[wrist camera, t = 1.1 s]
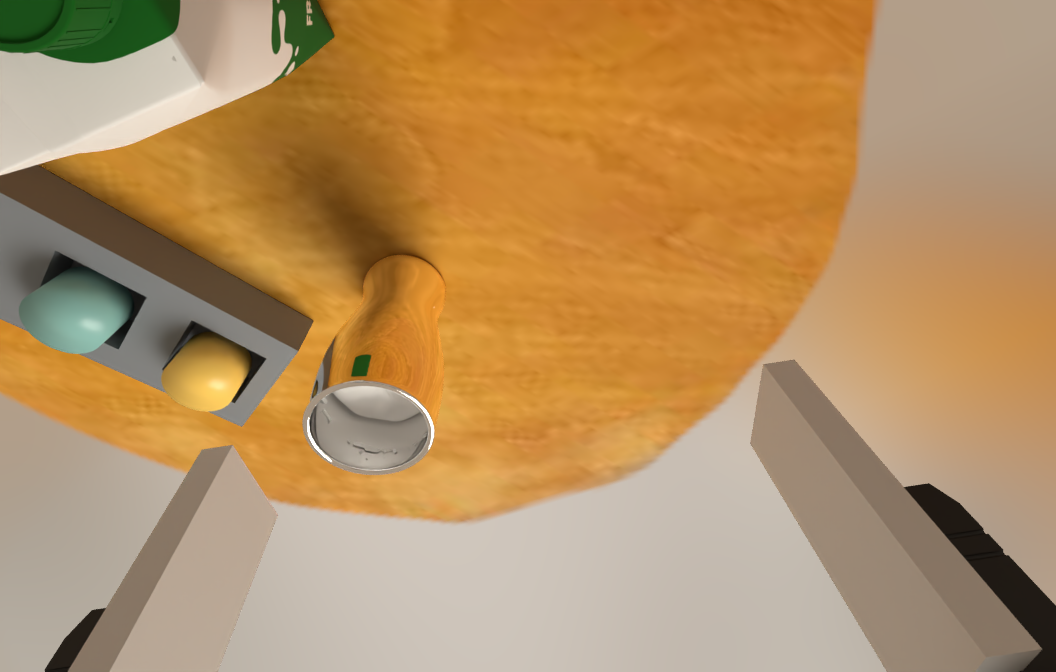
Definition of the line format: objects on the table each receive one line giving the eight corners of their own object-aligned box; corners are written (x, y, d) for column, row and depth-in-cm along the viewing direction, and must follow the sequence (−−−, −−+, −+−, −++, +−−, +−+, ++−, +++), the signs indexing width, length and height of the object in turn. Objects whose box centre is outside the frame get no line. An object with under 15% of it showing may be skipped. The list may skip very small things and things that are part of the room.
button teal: (48, 301, 33) (9, 329, 31) (69, 253, 32) (30, 277, 29) (121, 336, 35) (90, 364, 33) (144, 292, 34) (114, 318, 31)
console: (-101, 219, 33) (-167, 244, 30) (-72, 103, 30) (-142, 117, 26) (260, 393, 43) (242, 426, 40) (313, 321, 39) (298, 351, 36)
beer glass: (391, 342, 41) (353, 494, 29) (338, 273, 37) (266, 411, 25) (468, 307, 40) (463, 449, 27) (420, 232, 36) (389, 356, 24)
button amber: (175, 362, 37) (150, 391, 34) (200, 320, 35) (176, 348, 32) (235, 390, 39) (217, 421, 36) (262, 352, 37) (245, 381, 34)
